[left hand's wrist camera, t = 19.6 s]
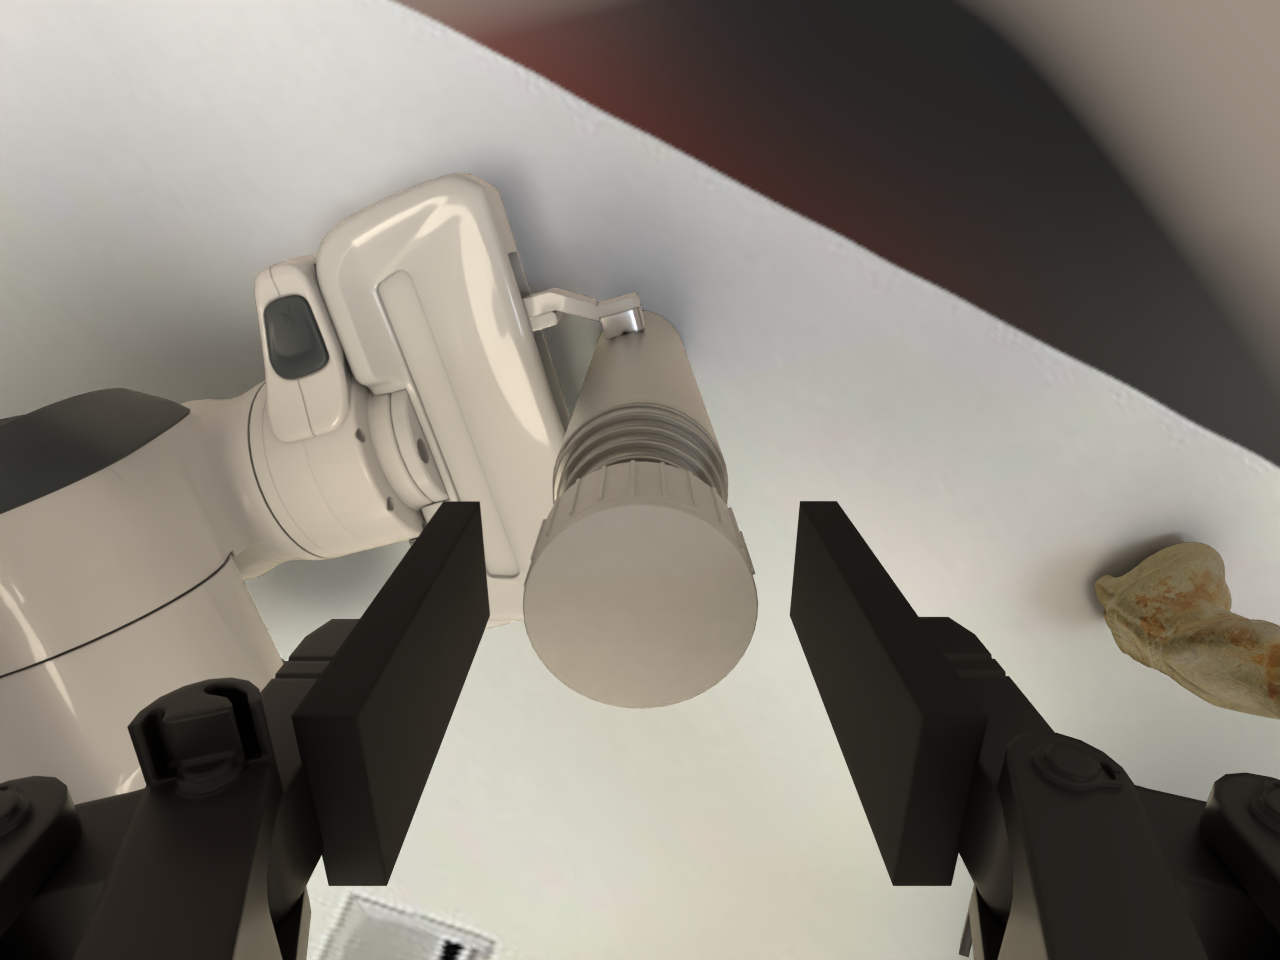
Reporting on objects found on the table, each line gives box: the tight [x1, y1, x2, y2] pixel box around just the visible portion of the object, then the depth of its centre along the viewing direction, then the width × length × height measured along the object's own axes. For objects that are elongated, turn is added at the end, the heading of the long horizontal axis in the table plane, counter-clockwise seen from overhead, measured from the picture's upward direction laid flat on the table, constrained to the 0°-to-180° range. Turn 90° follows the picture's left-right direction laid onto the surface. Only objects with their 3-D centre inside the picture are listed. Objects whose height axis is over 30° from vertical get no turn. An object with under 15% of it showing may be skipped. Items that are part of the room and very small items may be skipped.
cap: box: [523, 460, 758, 708], centre depth 14 cm, size 4×4×2 cm
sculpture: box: [1095, 542, 1280, 719], centre depth 35 cm, size 6×7×15 cm
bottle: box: [552, 311, 728, 505], centre depth 25 cm, size 5×5×26 cm
